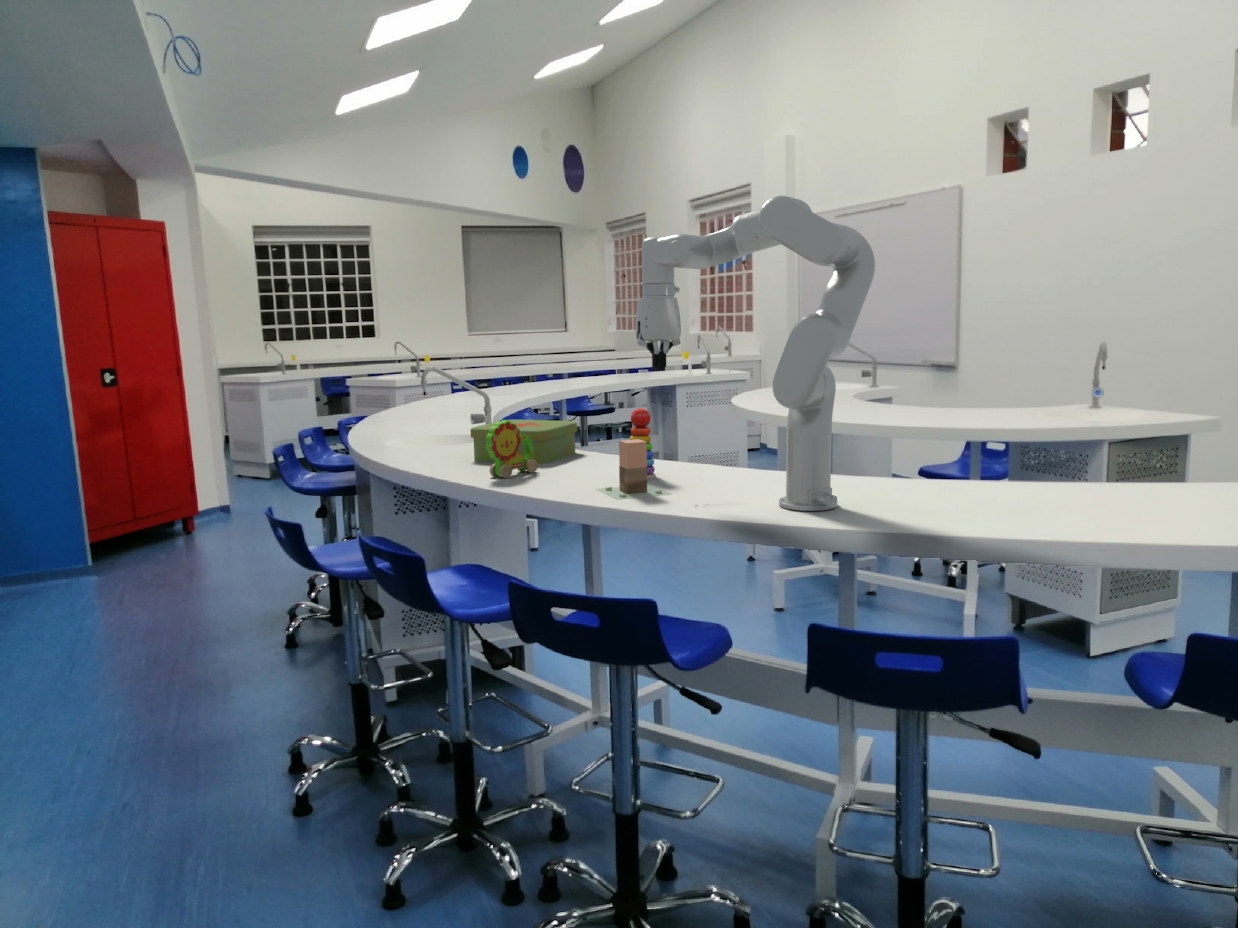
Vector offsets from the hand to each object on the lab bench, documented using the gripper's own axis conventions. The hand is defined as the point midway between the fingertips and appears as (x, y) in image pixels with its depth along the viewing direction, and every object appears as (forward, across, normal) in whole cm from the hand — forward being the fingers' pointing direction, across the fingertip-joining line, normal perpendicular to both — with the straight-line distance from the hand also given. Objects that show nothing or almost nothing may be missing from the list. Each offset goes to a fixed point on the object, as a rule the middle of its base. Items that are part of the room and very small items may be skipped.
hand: (659, 370), depth 209 cm
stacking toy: (+29, -1, -15) cm, 33 cm away
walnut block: (+28, +8, +2) cm, 29 cm away
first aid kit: (+30, +14, -70) cm, 77 cm away
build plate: (+29, +8, +2) cm, 30 cm away
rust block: (+22, +8, +2) cm, 24 cm away
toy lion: (+29, +27, -39) cm, 56 cm away
